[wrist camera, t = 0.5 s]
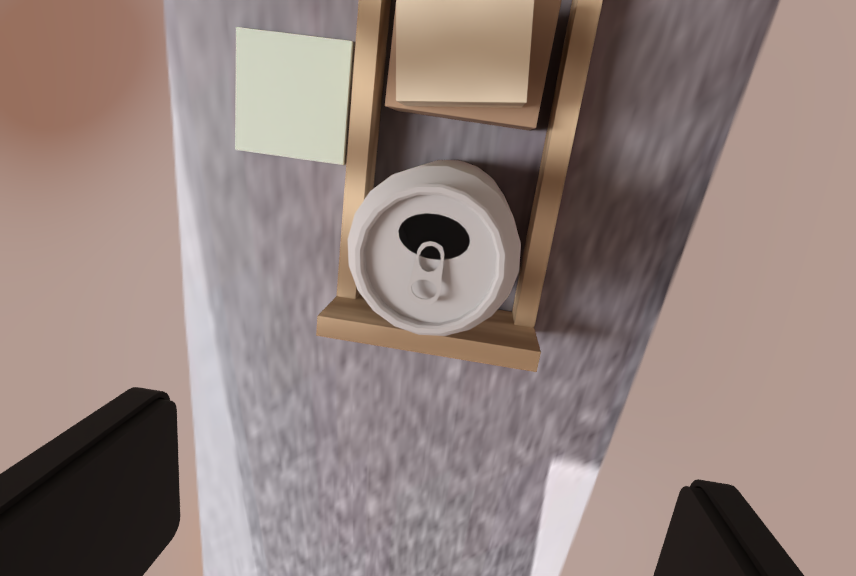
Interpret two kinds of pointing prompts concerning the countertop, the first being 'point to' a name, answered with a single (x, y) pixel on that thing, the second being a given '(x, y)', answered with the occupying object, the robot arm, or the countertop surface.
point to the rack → (514, 331)
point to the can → (435, 248)
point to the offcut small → (463, 52)
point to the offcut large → (519, 118)
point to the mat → (292, 95)
